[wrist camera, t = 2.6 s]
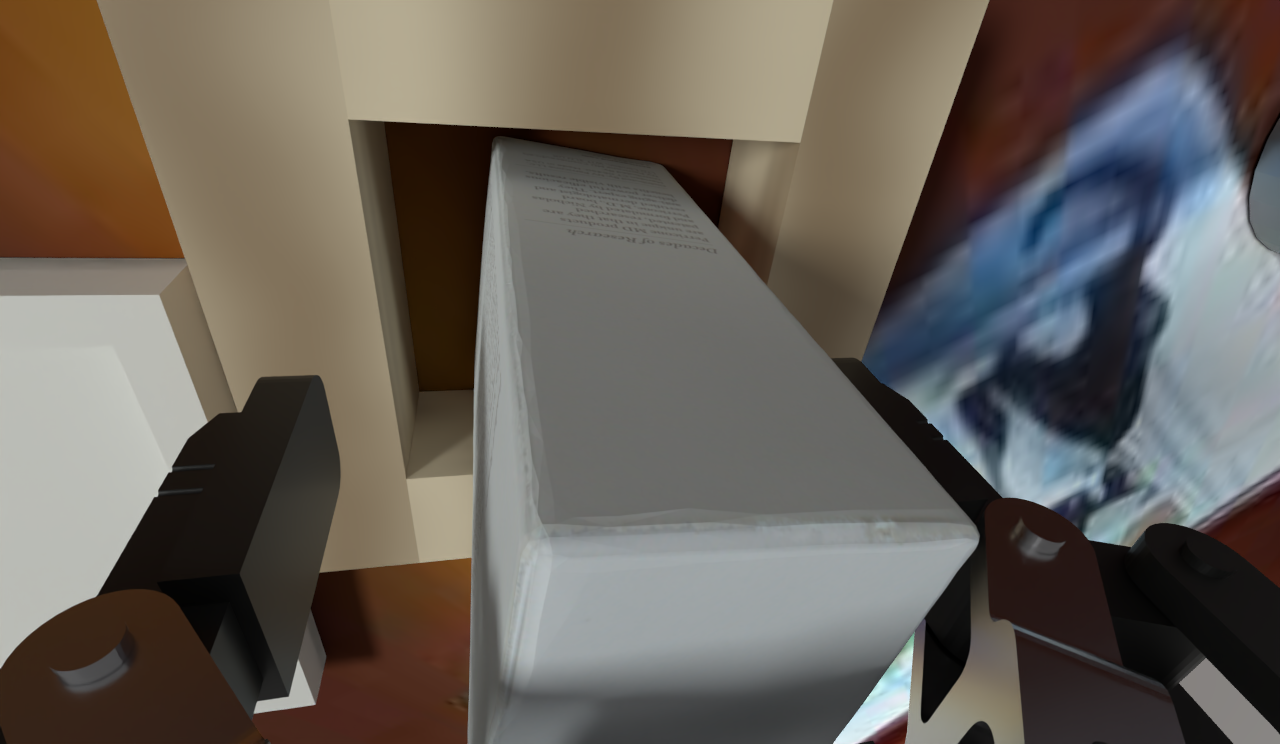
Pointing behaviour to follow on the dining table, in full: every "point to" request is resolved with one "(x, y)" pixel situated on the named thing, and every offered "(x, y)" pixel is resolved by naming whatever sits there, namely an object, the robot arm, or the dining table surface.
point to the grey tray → (98, 427)
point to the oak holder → (513, 98)
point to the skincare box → (673, 482)
